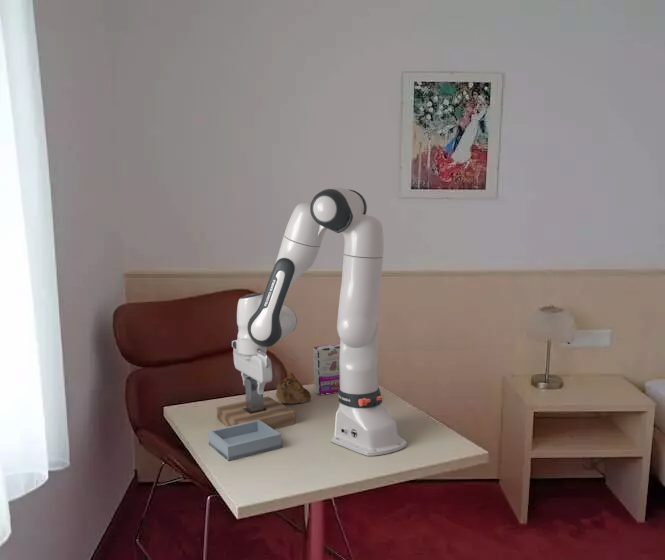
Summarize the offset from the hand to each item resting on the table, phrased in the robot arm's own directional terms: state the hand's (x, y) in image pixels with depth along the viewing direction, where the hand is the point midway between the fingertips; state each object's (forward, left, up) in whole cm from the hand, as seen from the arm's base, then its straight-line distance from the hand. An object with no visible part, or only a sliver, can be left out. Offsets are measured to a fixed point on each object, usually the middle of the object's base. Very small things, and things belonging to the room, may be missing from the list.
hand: (253, 389), depth 214 cm
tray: (-16, +11, -10) cm, 22 cm away
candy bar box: (+12, -35, -11) cm, 39 cm away
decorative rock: (+9, -18, -11) cm, 23 cm away
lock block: (0, 0, -10) cm, 10 cm away
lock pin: (0, 0, -10) cm, 10 cm away
